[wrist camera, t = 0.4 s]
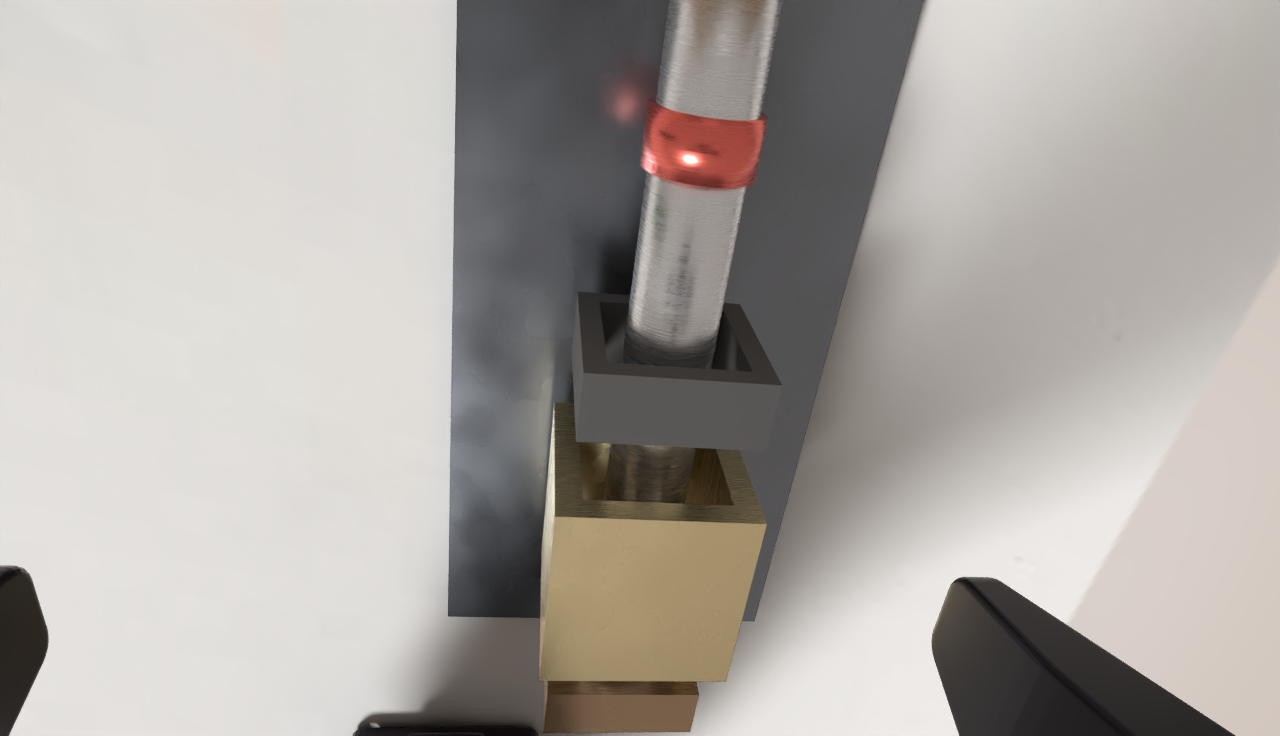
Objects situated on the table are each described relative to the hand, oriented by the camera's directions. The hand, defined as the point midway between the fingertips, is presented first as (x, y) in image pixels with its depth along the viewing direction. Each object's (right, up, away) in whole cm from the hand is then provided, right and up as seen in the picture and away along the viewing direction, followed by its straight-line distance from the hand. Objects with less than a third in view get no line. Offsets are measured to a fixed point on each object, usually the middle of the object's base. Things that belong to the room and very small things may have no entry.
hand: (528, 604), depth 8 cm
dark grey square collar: (+1, +3, +11) cm, 12 cm away
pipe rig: (+1, +4, +13) cm, 13 cm away
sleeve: (+1, -1, +14) cm, 14 cm away
